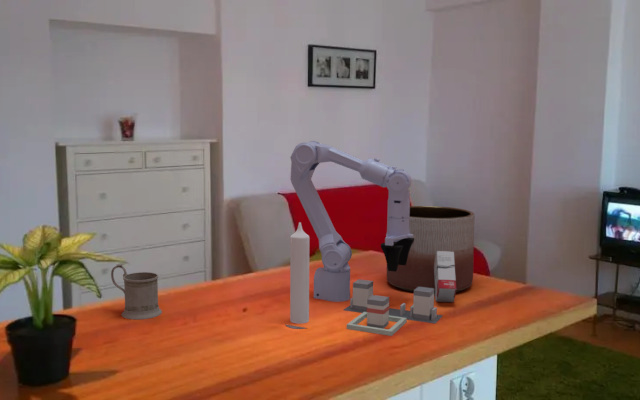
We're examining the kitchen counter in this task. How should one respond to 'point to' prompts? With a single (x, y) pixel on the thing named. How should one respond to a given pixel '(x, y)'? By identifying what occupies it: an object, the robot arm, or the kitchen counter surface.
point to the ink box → (444, 276)
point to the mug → (139, 294)
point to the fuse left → (361, 294)
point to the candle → (299, 278)
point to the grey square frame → (390, 332)
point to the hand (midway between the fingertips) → (397, 267)
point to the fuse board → (402, 313)
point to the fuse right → (423, 303)
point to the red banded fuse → (378, 311)
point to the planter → (436, 247)
